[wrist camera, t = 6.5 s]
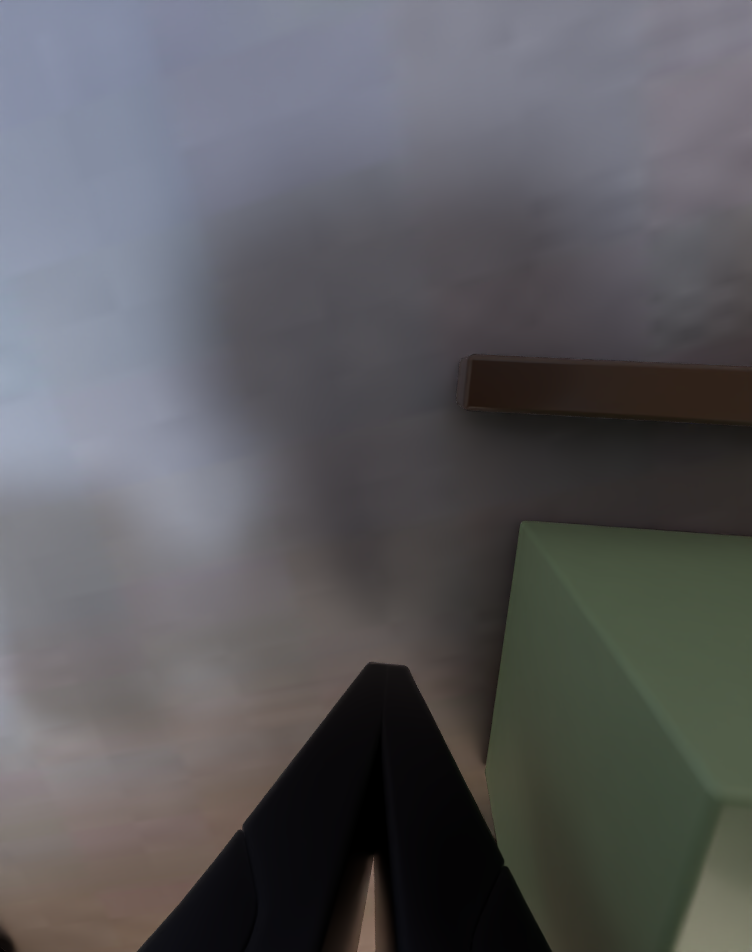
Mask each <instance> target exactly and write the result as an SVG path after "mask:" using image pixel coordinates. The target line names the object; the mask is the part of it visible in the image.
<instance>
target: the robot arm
mask: <svg viewBox="0 0 752 952" xmlns="http://www.w3.org/2000/svg"><path fill="white" fill-rule="evenodd" d="M242 830H243V831H242ZM242 830H238V831H237V832H236V833H235V835H234V836H233V837H232V839H231V840H230V841H229V842H228V844H227V845H226V846H225V848H224V849H223V850H222V852H221V853H220V854H219V855H218V857H217V858H216V859H215V861H214V862H213V863H212V864H211V865H210V867H209V868H208V869H207V870H206V872H205V873H204V874H203V875H202V877H201V878H200V879H199V880H198V881H197V883H196V884H195V885H194V886H193V888H192V889H191V890H190V891H189V892H188V894H187V895H186V896H185V897H184V899H183V900H182V901H181V902H180V904H179V905H178V906H177V907H176V908H175V909H174V910H173V912H172V913H171V914H170V915H169V916H168V917H167V918H166V919H165V920H164V922H163V923H162V924H161V925H160V926H159V927H158V928H157V929H156V931H155V932H154V933H153V934H152V935H151V936H150V937H149V938H148V940H147V941H146V942H145V943H144V944H143V945H142V946H141V947H140V949H139V950H138V951H137V952H357V949H358V943H359V937H360V932H361V926H362V920H363V915H364V909H365V903H366V897H367V892H368V886H369V880H370V875H371V869H372V863H373V857H374V887H375V944H376V952H552V950H551V948H550V946H549V945H548V943H547V941H546V939H545V937H544V935H543V933H542V931H541V929H540V928H539V926H538V924H537V922H536V920H535V918H534V916H533V914H532V913H531V911H530V909H529V907H528V905H527V903H526V901H525V899H524V897H523V895H522V893H521V891H520V889H519V887H518V885H517V883H516V881H515V879H514V877H513V875H512V873H511V871H510V869H509V868H508V867H507V866H504V863H505V861H504V858H503V856H502V854H501V852H500V850H499V848H498V846H497V844H496V842H495V840H494V838H493V836H492V834H491V832H490V830H489V828H488V826H487V824H486V822H485V820H484V818H483V816H482V814H481V812H480V810H479V808H478V806H477V804H476V802H475V800H474V798H473V796H472V794H471V792H470V790H469V788H468V786H467V784H466V782H465V780H464V778H463V776H462V774H461V772H460V770H459V768H458V766H457V764H456V762H455V760H454V758H453V756H452V754H451V752H450V750H449V748H448V746H447V744H446V742H445V740H444V738H443V736H442V734H441V732H440V730H439V728H438V726H437V724H436V722H435V720H434V718H433V716H432V714H431V712H430V710H429V708H428V706H427V704H426V702H425V700H424V699H423V697H422V695H421V693H420V691H419V689H418V687H417V685H416V683H415V681H414V679H413V677H412V675H411V673H410V671H409V669H408V667H406V666H404V665H395V664H385V663H375V662H370V663H368V664H367V665H366V666H365V667H364V669H363V670H362V671H361V672H360V674H359V675H358V676H357V678H356V679H355V680H354V682H353V683H352V684H351V685H350V687H349V688H348V689H347V691H346V692H345V693H344V694H343V696H342V697H341V698H340V700H339V701H338V702H337V703H336V705H335V706H334V707H333V709H332V710H331V711H330V712H329V714H328V715H327V716H326V718H325V719H324V720H323V722H322V723H321V724H320V725H319V727H318V728H317V729H316V731H315V732H314V733H313V734H312V736H311V737H310V738H309V740H308V741H307V742H306V743H305V745H304V746H303V747H302V749H301V750H300V751H299V753H298V754H297V755H296V756H295V758H294V759H293V760H292V762H291V763H290V764H289V765H288V767H287V768H286V769H285V771H284V772H283V773H282V774H281V776H280V777H279V778H278V780H277V781H276V782H275V784H274V785H273V786H272V787H271V789H270V790H269V791H268V793H267V794H266V795H265V796H264V798H263V799H262V800H261V802H260V803H259V804H258V805H257V807H256V808H255V809H254V811H253V812H252V813H251V814H250V816H249V817H248V818H247V820H246V821H245V822H244V824H243V826H242ZM0 952H5V951H4V950H3V949H2V948H0Z"/></svg>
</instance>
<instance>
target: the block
mask: <svg viewBox="0 0 752 952" xmlns="http://www.w3.org/2000/svg"><path fill="white" fill-rule="evenodd" d="M485 775H486V781H487V787H488V793H489V798H490V804H491V810H492V816H493V821H494V827H495V833H496V839H497V845H498V848H499V850H500V852H501V854H502V856H503V858H504V861H505V863H504V866H507V867H508V868H509V869H510V871H511V873H512V875H513V877H514V879H515V881H516V883H517V885H518V887H519V889H520V891H521V893H522V895H523V897H524V899H525V901H526V903H527V905H528V907H529V909H530V911H531V913H532V914H533V916H534V918H535V920H536V922H537V924H538V926H539V928H540V929H541V931H542V933H543V935H544V937H545V939H546V941H547V943H548V945H549V946H550V948H551V950H552V952H752V537H746V536H732V535H718V534H704V533H690V532H677V531H663V530H649V529H635V528H621V527H607V526H593V525H579V524H566V523H552V522H538V521H522V522H521V524H520V530H519V537H518V544H517V551H516V558H515V565H514V572H513V579H512V586H511V593H510V600H509V607H508V614H507V621H506V628H505V635H504V642H503V649H502V656H501V663H500V670H499V677H498V684H497V691H496V698H495V705H494V712H493V720H492V727H491V734H490V741H489V748H488V755H487V762H486V769H485Z"/></svg>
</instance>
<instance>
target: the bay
mask: <svg viewBox="0 0 752 952" xmlns="http://www.w3.org/2000/svg"><path fill="white" fill-rule="evenodd" d="M456 402H457V404H458V405H459V406H461V407H462V408H464V409H466V410H468V411H483V412H501V413H519V414H537V415H554V416H572V417H590V418H608V419H626V420H643V421H661V422H679V423H697V424H715V425H733V426H750V427H752V367H750V366H727V365H705V364H682V363H660V362H637V361H615V360H592V359H570V358H548V357H525V356H503V355H480V354H473V355H470V356H467V357H465V358H462V359H461V360H460V362H459V372H458V382H457V392H456ZM496 844H497V843H496ZM497 846H498V845H497Z"/></svg>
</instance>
